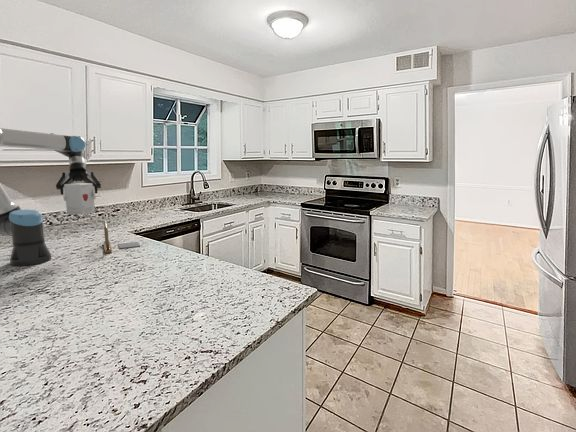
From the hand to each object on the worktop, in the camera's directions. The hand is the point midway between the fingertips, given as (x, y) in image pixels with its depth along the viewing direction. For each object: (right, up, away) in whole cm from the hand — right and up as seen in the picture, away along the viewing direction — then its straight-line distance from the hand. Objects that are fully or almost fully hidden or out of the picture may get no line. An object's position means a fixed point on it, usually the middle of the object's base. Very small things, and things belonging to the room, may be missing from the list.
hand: (79, 198), depth 167 cm
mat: (+17, -25, +17) cm, 34 cm away
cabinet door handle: (+8, -26, +12) cm, 29 cm away
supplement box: (-1, -8, +3) cm, 8 cm away
